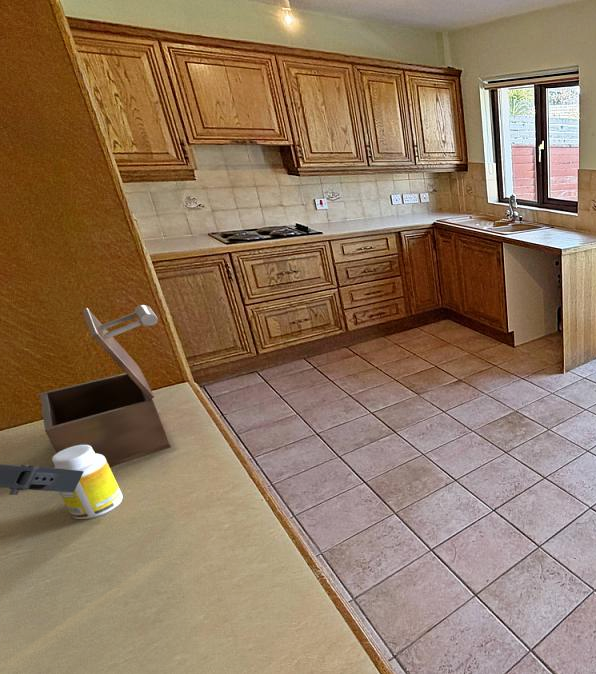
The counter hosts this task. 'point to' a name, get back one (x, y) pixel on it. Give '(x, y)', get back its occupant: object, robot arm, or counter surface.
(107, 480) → the supplement bottle
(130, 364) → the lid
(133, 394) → the chest
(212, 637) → the counter surface
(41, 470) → the robot arm
